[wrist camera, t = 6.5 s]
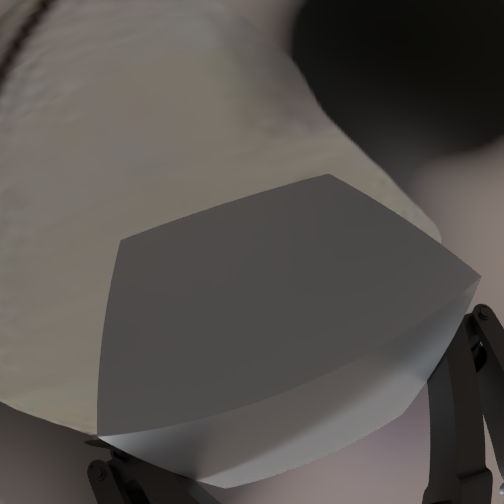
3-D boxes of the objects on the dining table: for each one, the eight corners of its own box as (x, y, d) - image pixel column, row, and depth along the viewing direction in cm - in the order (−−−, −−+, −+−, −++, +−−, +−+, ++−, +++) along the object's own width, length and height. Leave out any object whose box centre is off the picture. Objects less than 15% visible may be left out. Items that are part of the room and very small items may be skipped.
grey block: (120, 240, 11) (97, 436, 4) (328, 173, 13) (481, 276, 5) (194, 365, 17) (226, 488, 10) (333, 314, 18) (402, 413, 11)
